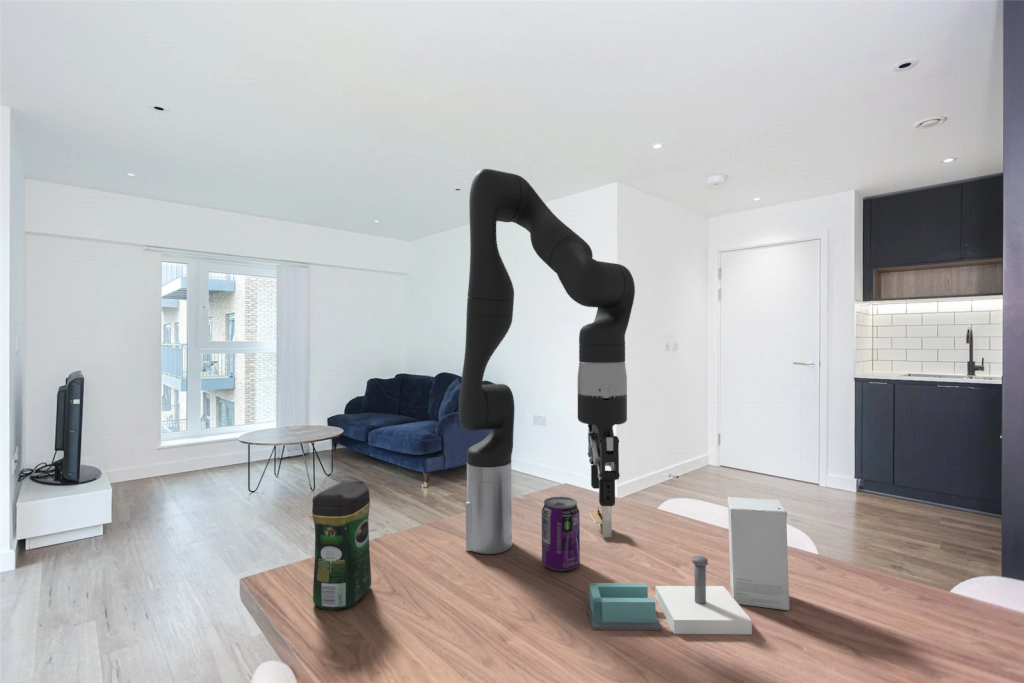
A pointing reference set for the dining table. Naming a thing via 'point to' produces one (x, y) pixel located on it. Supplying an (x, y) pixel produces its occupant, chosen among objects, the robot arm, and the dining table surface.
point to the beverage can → (560, 533)
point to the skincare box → (758, 552)
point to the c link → (621, 602)
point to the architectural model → (603, 520)
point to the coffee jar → (341, 545)
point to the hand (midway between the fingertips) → (602, 496)
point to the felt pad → (622, 623)
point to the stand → (702, 607)
